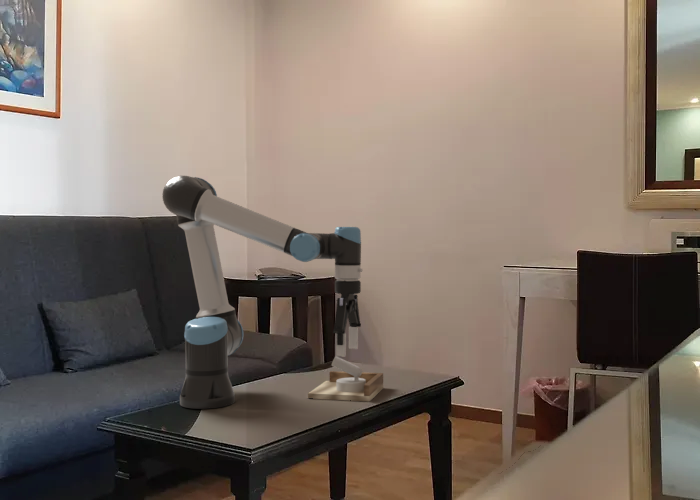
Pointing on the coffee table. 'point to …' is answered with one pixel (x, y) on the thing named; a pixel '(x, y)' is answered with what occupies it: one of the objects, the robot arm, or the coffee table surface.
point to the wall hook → (352, 382)
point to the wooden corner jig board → (331, 393)
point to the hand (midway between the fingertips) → (347, 352)
